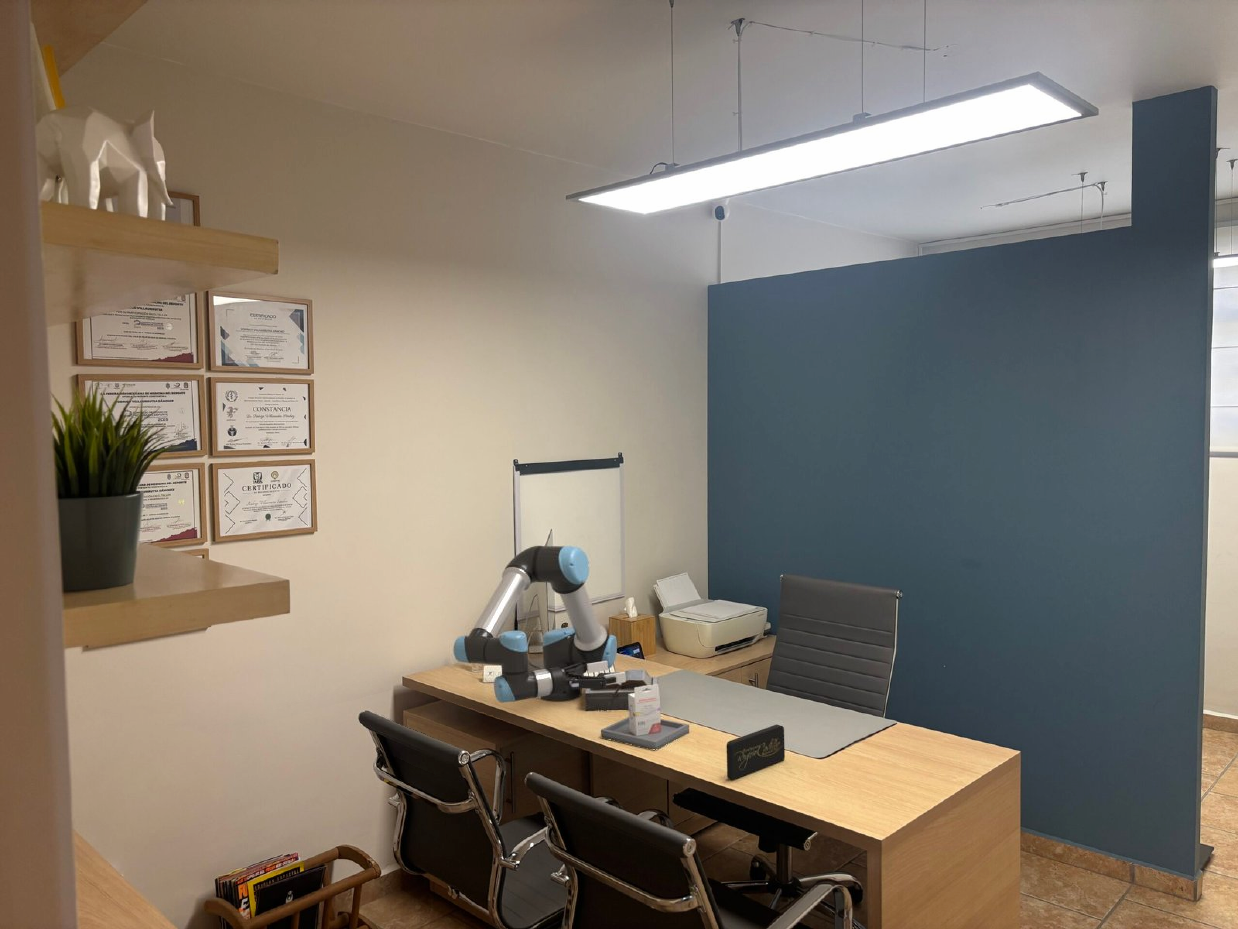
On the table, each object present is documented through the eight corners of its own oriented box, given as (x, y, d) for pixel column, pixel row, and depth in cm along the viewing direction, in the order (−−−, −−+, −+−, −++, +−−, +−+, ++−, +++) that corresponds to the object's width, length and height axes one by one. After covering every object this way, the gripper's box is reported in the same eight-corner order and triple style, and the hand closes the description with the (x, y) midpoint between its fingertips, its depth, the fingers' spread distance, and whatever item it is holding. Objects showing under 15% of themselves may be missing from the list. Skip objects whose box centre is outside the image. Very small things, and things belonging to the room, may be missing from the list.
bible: (654, 716, 289) (653, 686, 288) (574, 712, 295) (573, 682, 295) (668, 694, 311) (667, 667, 311) (594, 691, 318) (593, 664, 317)
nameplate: (732, 781, 233) (731, 744, 232) (727, 779, 234) (726, 742, 234) (784, 761, 246) (784, 725, 246) (779, 759, 247) (778, 723, 247)
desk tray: (635, 721, 283) (635, 713, 283) (689, 732, 271) (688, 724, 271) (601, 738, 268) (600, 729, 268) (655, 750, 256) (655, 742, 256)
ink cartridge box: (654, 727, 274) (652, 679, 273) (661, 732, 269) (660, 683, 269) (628, 731, 270) (627, 683, 270) (635, 736, 266) (634, 688, 265)
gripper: (535, 683, 268) (600, 672, 276) (563, 707, 245) (633, 695, 253) (534, 658, 268) (599, 649, 276) (562, 680, 245) (632, 669, 253)
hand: (616, 671), depth 265 cm, fingers open, 13 cm apart
